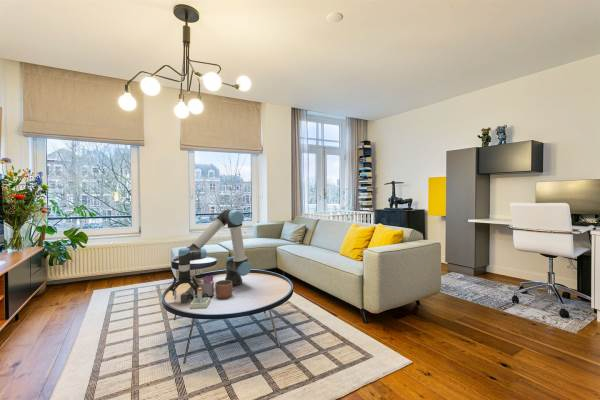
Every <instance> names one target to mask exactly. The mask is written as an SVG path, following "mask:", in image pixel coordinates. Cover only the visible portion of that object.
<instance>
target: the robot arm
mask: <svg viewBox="0 0 600 400" xmlns="http://www.w3.org/2000/svg"><path fill="white" fill-rule="evenodd" d="M244 220H245V217H244V214H243V212H242V211H240V210H238V209H224V210H223V211H221V213H220V214H218V215H217V216H216V217H215V218H214V221H213V222H212V223H211V224H210V225H209V226H208V227H207V228H206V229H205V230H204V231H203V232H202V233H201V234H200V236H198V238H197V239H196V240H194V242H193V243H191V244H190V245H189V246H186V247H182V248H180V249H178V254H177V257H178V258H177V259H178V276H175V277H174V279H173V281H172V284H171V286H170V288H169V291H172V296H173V301H176V300H177V298H178V297H177V290H176V289H177V288H178V287H179V286H180V285H181V284H188V285H189V287H190V286H191V287H192V288H193V289H194V297H193V300H194V299H195V298H197V297H196V295H197V288H198V287H199V285H198V283H197V281H196V280H195V278H196V276H195V275H193V276H191V262H192V261H198V260H204V259H206V258H207V255H208V254H207V253H208V252H207V250H206V249H205V248H203V247H204V246H205V245H206V244H207V243H208V242H210V240H211V239H212V238H213V237H214V236H215V235H216V234H217V233H218V232H219V231H220V230H221V228H224V227H225V226H226V225H227V228H228V229H229V231H230V236H231V244H232V250H233V251H232V252H233V256H228V257H227V258H226V260H225V269H226V270H225V271H226V273H225V274H226V275H225V279H224V280H230V281H232V287H238V286H240V285H242V284H243V278H242V277H245V276H247V275H248V274H249V273H250V272H251V269H252V265H251V263H250V262H249V261H248V256H246V253H245V247H244V241H243V239H244V238H243V233H242V227H243V221H244ZM192 280H193V282H194V284H195V285H194V284H193V283H192ZM177 281H178V283H177V284H176V282H177ZM175 284H176V285H175Z"/></svg>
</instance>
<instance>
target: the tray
mask: <svg viewBox="0 0 600 400" xmlns="http://www.w3.org/2000/svg"><path fill="white" fill-rule="evenodd" d="M210 303H211V296H209V298H202V303H198V297H196V298H195V299H194V298H193V300H192V301H191V302H190V303H189V307H190V309H207V308H208V307H209V304H210Z"/></svg>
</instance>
